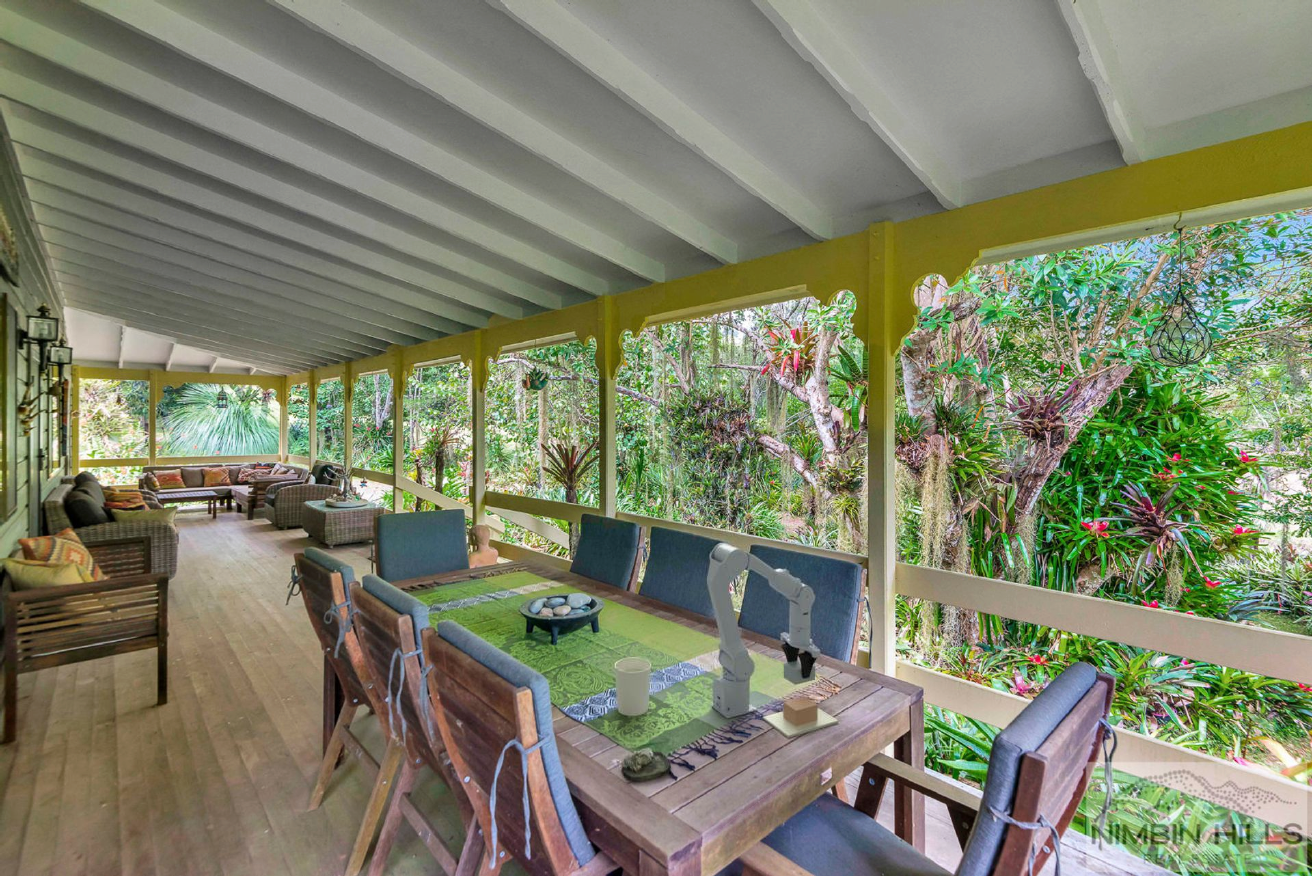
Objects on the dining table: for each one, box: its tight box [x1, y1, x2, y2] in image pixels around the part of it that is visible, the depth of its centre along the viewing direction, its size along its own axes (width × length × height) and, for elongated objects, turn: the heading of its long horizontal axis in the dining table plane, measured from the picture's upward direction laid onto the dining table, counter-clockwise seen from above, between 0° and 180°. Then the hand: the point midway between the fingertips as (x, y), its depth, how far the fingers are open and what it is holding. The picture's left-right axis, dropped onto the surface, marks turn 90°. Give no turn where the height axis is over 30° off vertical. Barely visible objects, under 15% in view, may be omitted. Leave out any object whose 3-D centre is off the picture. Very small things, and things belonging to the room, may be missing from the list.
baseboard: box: [762, 707, 839, 739], centre depth 149 cm, size 16×10×1 cm, turn 116°
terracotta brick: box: [782, 696, 819, 726], centre depth 149 cm, size 7×5×4 cm
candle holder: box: [614, 656, 652, 717], centre depth 156 cm, size 10×10×12 cm
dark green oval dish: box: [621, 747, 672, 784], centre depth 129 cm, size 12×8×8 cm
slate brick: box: [783, 659, 816, 686], centre depth 163 cm, size 7×5×4 cm
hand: (799, 673), depth 163 cm, fingers closed on slate brick, 5 cm apart
